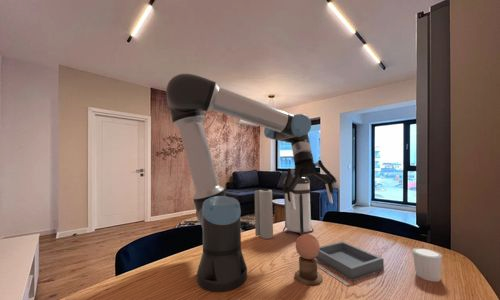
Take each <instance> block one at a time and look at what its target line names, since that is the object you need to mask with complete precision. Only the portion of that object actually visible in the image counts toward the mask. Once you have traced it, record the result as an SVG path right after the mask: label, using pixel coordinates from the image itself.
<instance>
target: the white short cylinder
mask: <svg viewBox="0 0 500 300" xmlns="http://www.w3.org/2000/svg"><path fill="white" fill-rule="evenodd" d="M412 257H413V264H414V269H415V274H416V276H417V277H418V278H420V279H422V280H426V281H429V282H441V280H442V278H441V277H442V276H441V275H442V260H443V259H442V258H443V255H442V253H440V252H438V251H436V250H434V249H430V248H429V249H428V248H425V247H424V248H423V247H414V248H412Z"/></svg>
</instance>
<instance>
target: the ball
mask: <svg viewBox="0 0 500 300" xmlns="http://www.w3.org/2000/svg"><path fill="white" fill-rule="evenodd" d="M295 241H296V242H295V250H296V252H297V254H298V255H299V257H300V256H301V257H303V258H305V259H313V258H315V257H316V256H317V255H318V253H319V250H320V247H321V246H320V243H319V241H318V239H317V238H316V237H315V236H314V235H312V234H310V233H304V234H303V235H300V236H298V237H297V239H296V240H295Z"/></svg>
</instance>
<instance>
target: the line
mask: <svg viewBox="0 0 500 300" xmlns="http://www.w3.org/2000/svg"><path fill="white" fill-rule="evenodd" d="M317 268H318V269H320V270H322V271H324V272H325V273H327V274H328V275H329V276H331V277H333V278H335V280H338V281H339V282H341V283H342V284H344V285H345V286H350V285H351V283H349V282H348V281H346V280H345V279H343V278H342V277H340V276H338V275H337V274H335V273H333V272H332V271H330V270H328V269H327V268H325V267H324V266H323V265H321V264H319V263H317Z"/></svg>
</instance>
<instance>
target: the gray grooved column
mask: <svg viewBox="0 0 500 300" xmlns="http://www.w3.org/2000/svg"><path fill="white" fill-rule="evenodd" d="M273 212H274V211H273V190H272V189H258V190H254V224H255V225H254V227H255V228H254V229H255V237H260V238H262V239H264V240H267V239H272V238H273V237H274V221H273V220H274V216H273V214H274V213H273Z"/></svg>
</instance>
